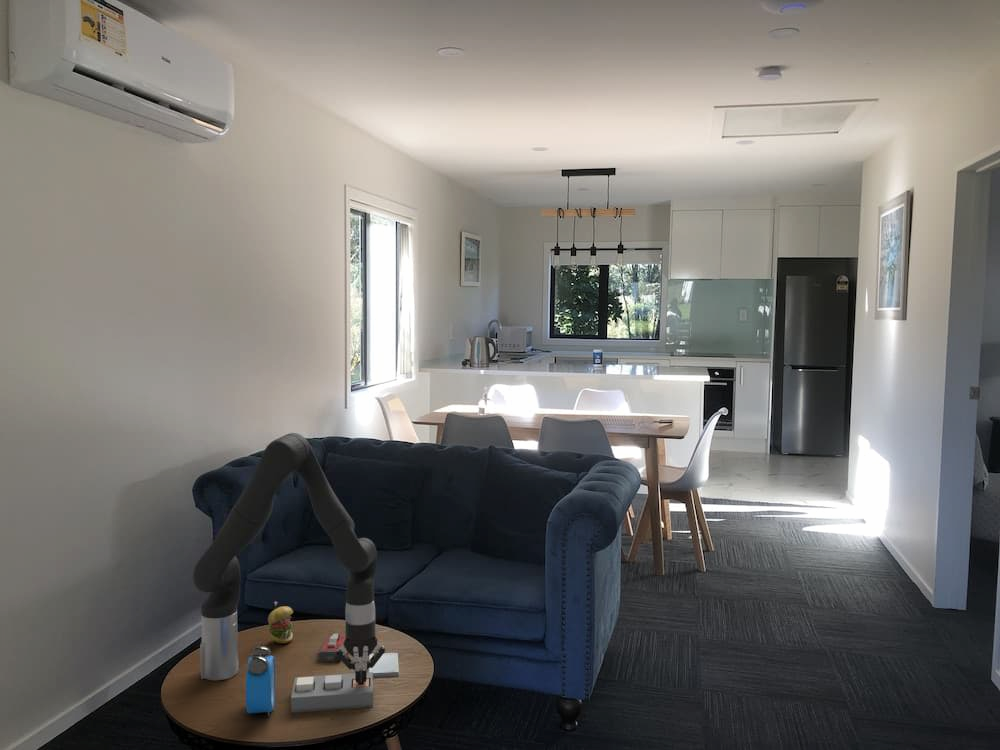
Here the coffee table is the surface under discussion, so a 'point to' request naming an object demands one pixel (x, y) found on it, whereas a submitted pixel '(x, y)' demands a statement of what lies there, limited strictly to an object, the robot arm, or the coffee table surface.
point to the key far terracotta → (366, 684)
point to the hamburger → (280, 624)
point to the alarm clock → (260, 681)
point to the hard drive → (385, 665)
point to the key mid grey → (333, 682)
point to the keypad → (332, 695)
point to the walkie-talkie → (331, 648)
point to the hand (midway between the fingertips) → (361, 683)
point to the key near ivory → (305, 684)
